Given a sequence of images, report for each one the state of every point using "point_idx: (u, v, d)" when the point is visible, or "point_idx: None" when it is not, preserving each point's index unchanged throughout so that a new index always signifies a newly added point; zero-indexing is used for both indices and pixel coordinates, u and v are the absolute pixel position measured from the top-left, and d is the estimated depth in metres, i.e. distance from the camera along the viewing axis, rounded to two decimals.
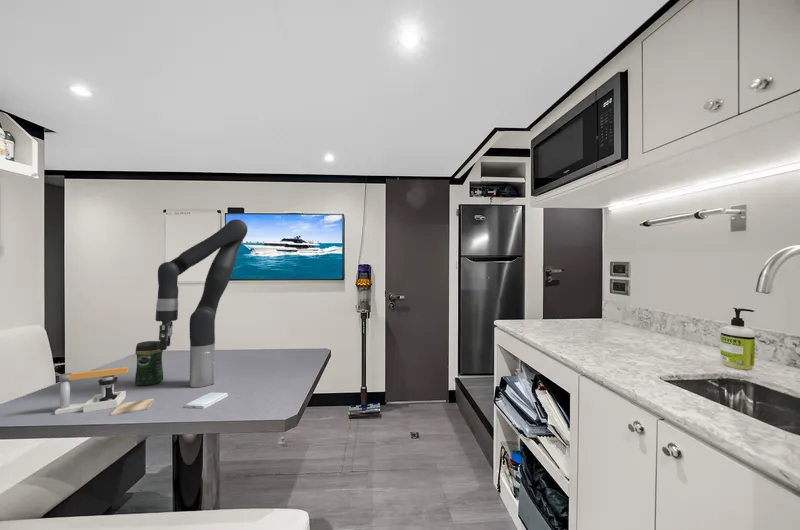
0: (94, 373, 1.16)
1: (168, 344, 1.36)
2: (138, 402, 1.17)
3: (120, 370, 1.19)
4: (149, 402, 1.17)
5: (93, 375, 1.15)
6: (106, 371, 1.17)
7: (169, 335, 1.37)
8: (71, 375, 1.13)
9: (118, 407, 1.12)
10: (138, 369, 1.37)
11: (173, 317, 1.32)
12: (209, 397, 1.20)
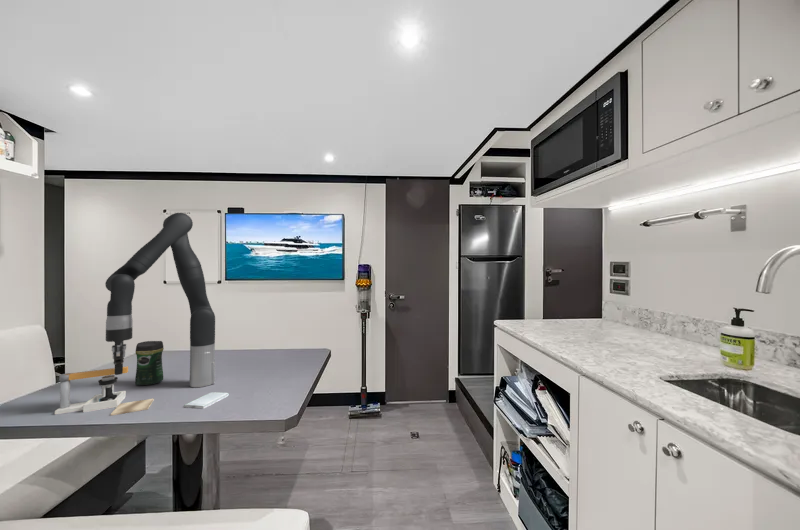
0: (95, 373, 1.16)
1: None
2: (138, 402, 1.17)
3: None
4: (149, 402, 1.17)
5: (93, 375, 1.16)
6: (107, 371, 1.17)
7: None
8: (71, 375, 1.13)
9: (118, 407, 1.12)
10: (138, 369, 1.37)
11: (128, 335, 1.18)
12: (210, 397, 1.20)
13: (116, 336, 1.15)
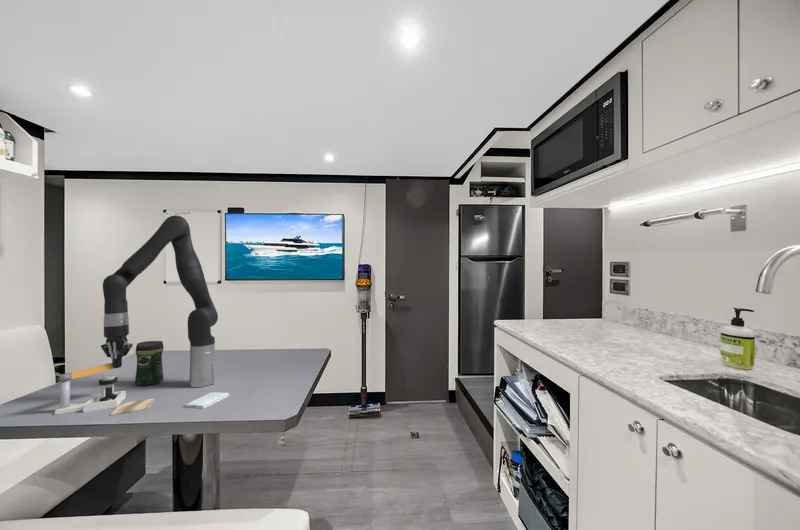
0: (94, 369, 1.20)
1: None
2: (138, 402, 1.17)
3: None
4: (149, 402, 1.17)
5: (93, 371, 1.20)
6: (103, 366, 1.23)
7: None
8: (74, 374, 1.14)
9: (118, 407, 1.12)
10: (138, 369, 1.37)
11: (128, 330, 1.29)
12: (210, 397, 1.20)
13: (122, 331, 1.26)
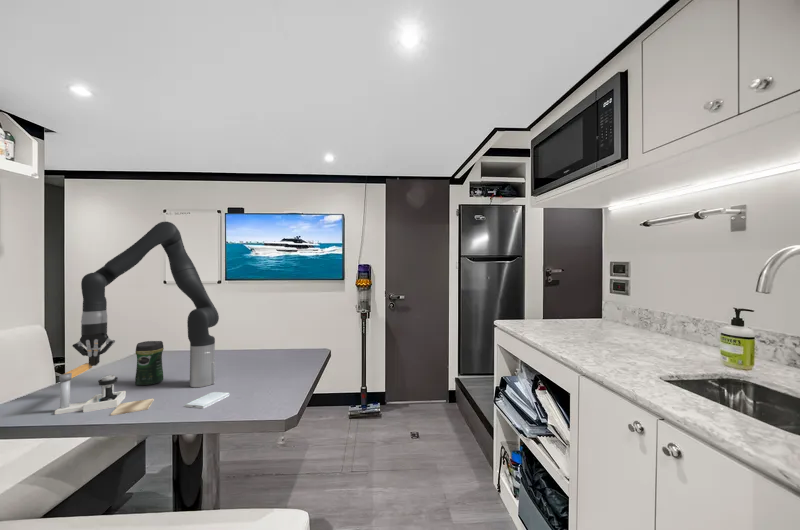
0: (80, 369, 1.20)
1: None
2: (138, 402, 1.17)
3: None
4: (149, 402, 1.17)
5: (80, 372, 1.20)
6: (85, 367, 1.23)
7: None
8: (72, 373, 1.15)
9: (118, 407, 1.12)
10: (138, 369, 1.37)
11: None
12: (210, 397, 1.20)
13: (105, 328, 1.29)
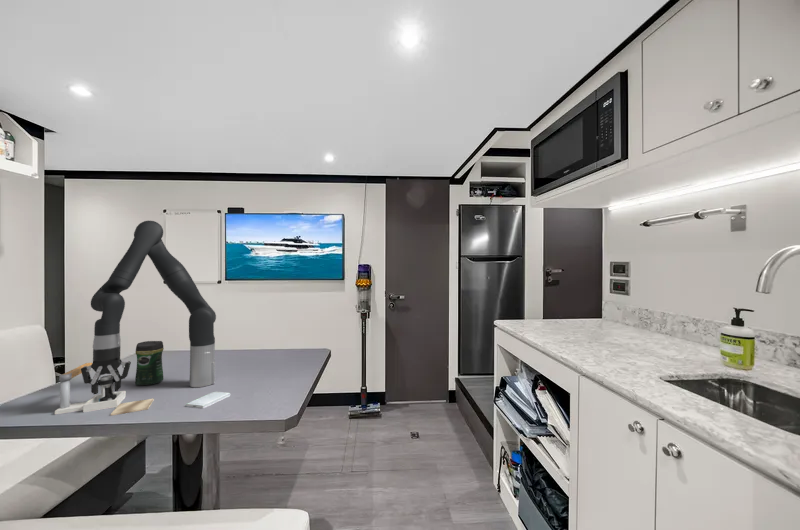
0: (80, 369, 1.20)
1: (97, 391, 1.17)
2: (138, 402, 1.17)
3: None
4: (149, 402, 1.17)
5: (80, 372, 1.20)
6: None
7: None
8: (72, 373, 1.15)
9: (118, 407, 1.12)
10: (138, 369, 1.37)
11: None
12: (211, 396, 1.21)
13: (119, 353, 1.19)
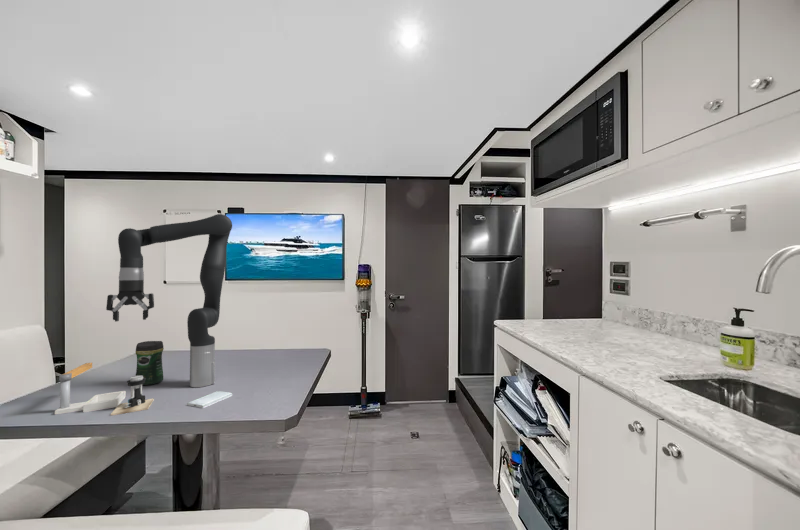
0: (80, 369, 1.20)
1: (118, 319, 1.24)
2: None
3: (90, 365, 1.27)
4: (149, 402, 1.17)
5: (80, 372, 1.20)
6: (85, 367, 1.23)
7: None
8: (72, 373, 1.15)
9: (118, 407, 1.12)
10: (138, 369, 1.37)
11: None
12: (213, 396, 1.21)
13: (142, 286, 1.27)
